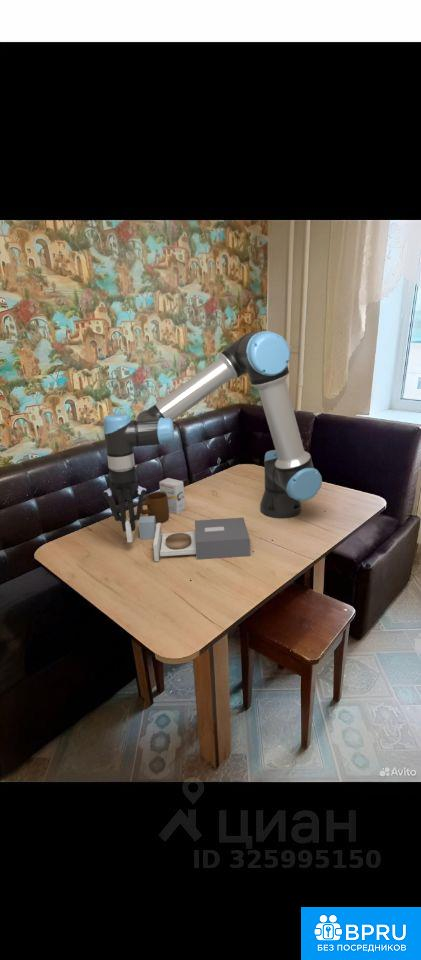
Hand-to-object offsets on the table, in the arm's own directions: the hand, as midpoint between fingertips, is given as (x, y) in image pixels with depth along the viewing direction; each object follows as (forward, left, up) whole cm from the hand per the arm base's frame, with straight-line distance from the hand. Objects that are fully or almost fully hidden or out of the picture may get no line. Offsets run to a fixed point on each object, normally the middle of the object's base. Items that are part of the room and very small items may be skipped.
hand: (130, 540), depth 126 cm
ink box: (-12, -31, -4) cm, 34 cm away
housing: (-28, 0, -4) cm, 28 cm away
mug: (-5, -22, -4) cm, 23 cm away
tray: (-16, 0, -4) cm, 16 cm away
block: (-4, -11, -4) cm, 12 cm away
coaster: (-15, 0, -2) cm, 15 cm away
